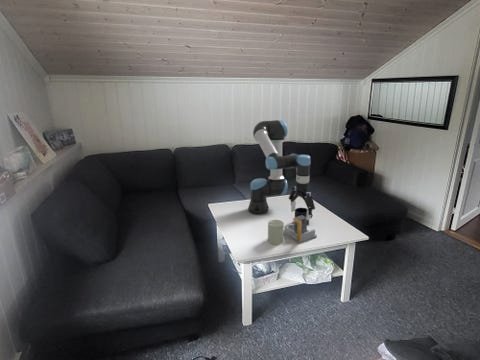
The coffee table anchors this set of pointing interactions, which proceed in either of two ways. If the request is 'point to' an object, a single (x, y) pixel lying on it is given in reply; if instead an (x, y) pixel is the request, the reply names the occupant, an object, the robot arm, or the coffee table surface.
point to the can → (275, 232)
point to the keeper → (298, 232)
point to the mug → (301, 213)
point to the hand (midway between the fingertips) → (300, 215)
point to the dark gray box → (304, 224)
